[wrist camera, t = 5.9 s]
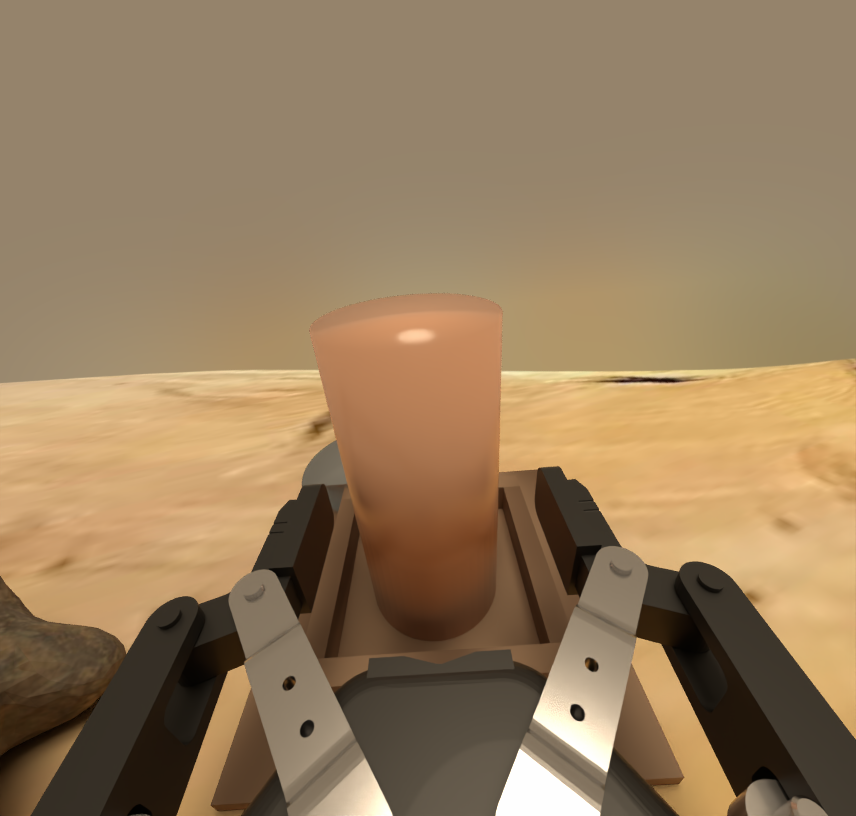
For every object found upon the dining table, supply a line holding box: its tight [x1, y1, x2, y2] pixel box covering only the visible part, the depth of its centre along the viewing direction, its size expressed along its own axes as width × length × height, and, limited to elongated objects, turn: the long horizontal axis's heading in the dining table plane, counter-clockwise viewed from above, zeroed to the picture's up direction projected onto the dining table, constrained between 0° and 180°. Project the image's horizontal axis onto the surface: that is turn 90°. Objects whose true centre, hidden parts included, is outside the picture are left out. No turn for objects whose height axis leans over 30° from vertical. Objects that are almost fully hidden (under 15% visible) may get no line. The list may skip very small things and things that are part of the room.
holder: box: [211, 470, 684, 811], centre depth 19 cm, size 16×16×2 cm
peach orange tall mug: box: [309, 293, 503, 641], centre depth 17 cm, size 9×6×14 cm
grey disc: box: [302, 440, 348, 512], centre depth 28 cm, size 11×11×1 cm
